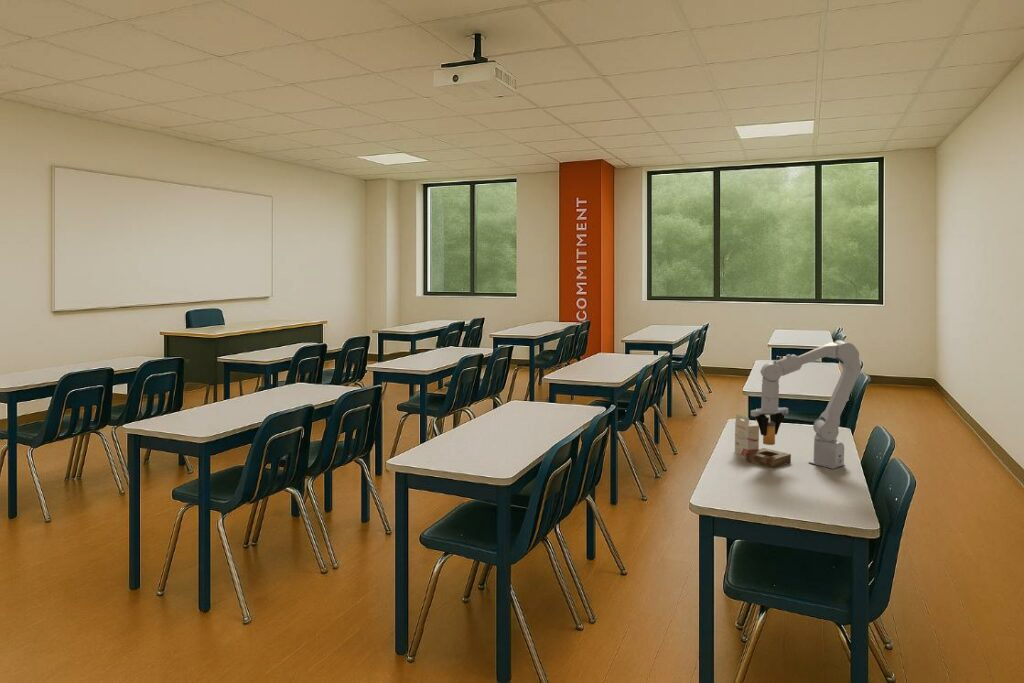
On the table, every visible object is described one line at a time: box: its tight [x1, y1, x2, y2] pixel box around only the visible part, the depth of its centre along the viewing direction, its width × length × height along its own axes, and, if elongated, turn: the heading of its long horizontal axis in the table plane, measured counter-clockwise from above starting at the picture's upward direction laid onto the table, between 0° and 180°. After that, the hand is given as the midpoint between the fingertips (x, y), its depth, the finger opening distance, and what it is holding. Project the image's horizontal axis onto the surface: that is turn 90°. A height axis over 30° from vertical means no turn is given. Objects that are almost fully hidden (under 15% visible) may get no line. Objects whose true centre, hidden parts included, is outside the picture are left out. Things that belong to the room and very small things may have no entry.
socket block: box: [745, 447, 792, 469], centre depth 256 cm, size 11×11×3 cm
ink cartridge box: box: [734, 413, 760, 457], centre depth 266 cm, size 9×5×15 cm, turn 17°
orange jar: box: [762, 419, 776, 446], centre depth 255 cm, size 4×4×8 cm
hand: (768, 434), depth 255 cm, fingers closed on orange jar, 4 cm apart
